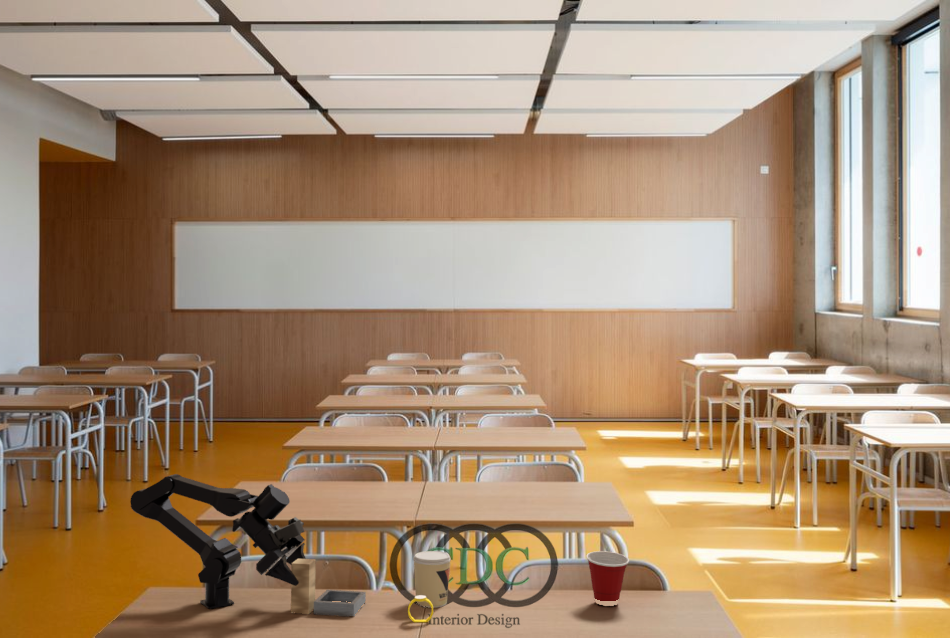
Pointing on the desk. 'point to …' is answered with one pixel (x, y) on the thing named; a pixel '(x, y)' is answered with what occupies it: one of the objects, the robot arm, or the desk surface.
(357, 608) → the grey square tray
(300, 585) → the rectangular block
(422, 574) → the coffee cup
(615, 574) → the plastic cup
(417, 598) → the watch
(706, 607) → the desk surface
